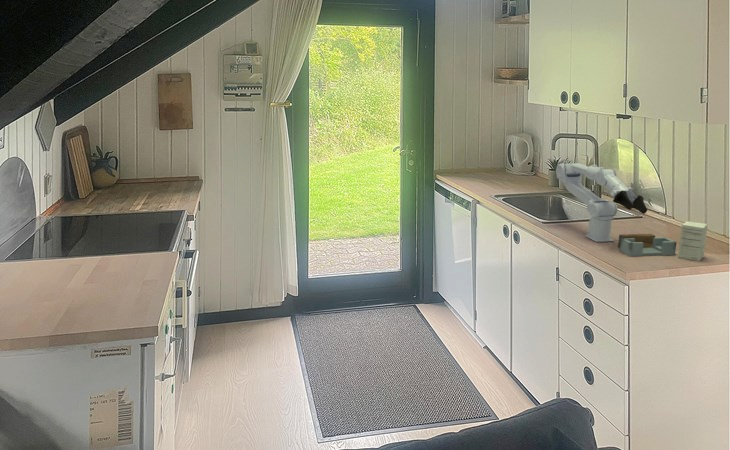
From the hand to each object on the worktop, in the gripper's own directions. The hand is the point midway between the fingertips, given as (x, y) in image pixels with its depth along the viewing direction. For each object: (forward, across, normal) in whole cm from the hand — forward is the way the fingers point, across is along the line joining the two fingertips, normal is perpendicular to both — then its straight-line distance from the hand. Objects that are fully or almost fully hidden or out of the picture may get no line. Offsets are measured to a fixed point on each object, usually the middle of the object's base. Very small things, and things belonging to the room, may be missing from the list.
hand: (638, 209), depth 228 cm
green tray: (+8, +9, +12) cm, 17 cm away
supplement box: (+17, +19, +5) cm, 26 cm away
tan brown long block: (+1, +11, +15) cm, 19 cm away
